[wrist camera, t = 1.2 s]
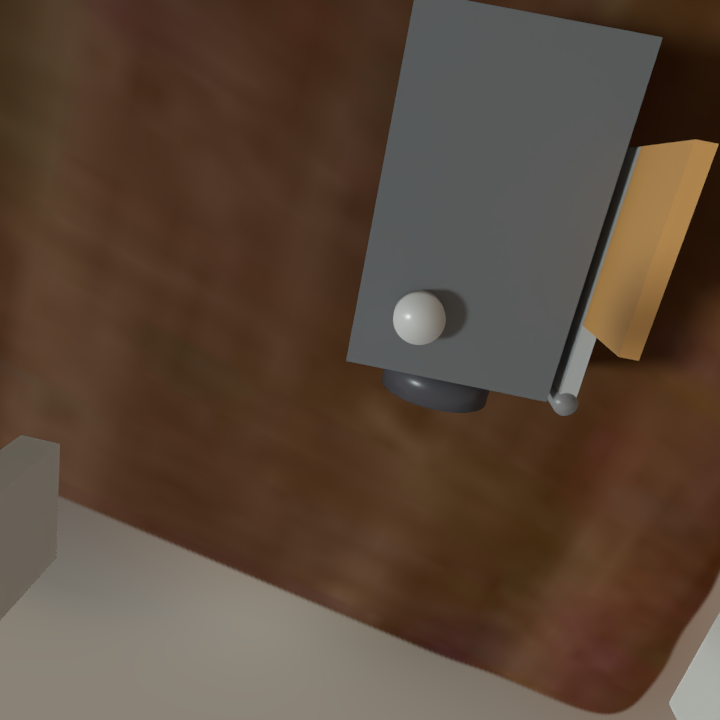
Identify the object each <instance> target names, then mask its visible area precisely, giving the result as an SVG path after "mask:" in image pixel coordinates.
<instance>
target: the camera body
mask: <svg viewBox="0 0 720 720" xmlns="http://www.w3.org/2000/svg"><path fill="white" fill-rule="evenodd" d="M662 38H663V37H658V36H653V35H647V34H642V33H637V32H631V31H626V30H621V29H616V28H610V27H605V26H600V25H594V24H589V23H584V22H578V21H573V20H568V19H563V18H557V17H552V16H547V15H541V14H536V13H531V12H525V11H520V10H515V9H510V8H504V7H499V6H494V5H488V4H483V3H478V2H472V1H467V0H414V3H413V8H412V14H411V19H410V24H409V30H408V35H407V40H406V46H405V51H404V56H403V61H402V67H401V72H400V77H399V83H398V88H397V93H396V99H395V104H394V109H393V115H392V120H391V125H390V131H389V136H388V141H387V147H386V152H385V157H384V162H383V168H382V173H381V178H380V184H379V189H378V194H377V200H376V205H375V210H374V216H373V221H372V226H371V232H370V237H369V242H368V247H367V253H366V258H365V263H364V269H363V274H362V279H361V285H360V290H359V295H358V301H357V306H356V311H355V317H354V322H353V327H352V332H351V338H350V343H349V348H348V354H347V359H346V361H349V362H354V363H359V364H364V365H369V366H374V367H379V368H384V371H383V376H382V382H383V384H384V386H385V387H386V388H387V389H388V390H389V391H390V392H392V393H393V394H395V395H396V396H398V397H400V398H402V399H404V400H406V401H408V402H411V403H413V404H416V405H419V406H422V407H426V408H430V409H434V410H439V411H445V412H455V413H467V412H474V411H478V410H480V409H482V408H483V407H484V406H485V404H486V401H487V397H488V394H489V390H491V391H496V392H501V393H505V394H510V395H515V396H520V397H525V398H530V399H535V400H540V401H544V402H547V398H548V395H549V392H550V389H551V386H552V383H553V380H554V376H555V373H556V370H557V367H558V364H559V361H560V358H561V355H562V351H563V348H564V345H565V342H566V339H567V336H568V333H569V330H570V326H571V323H572V320H573V317H574V314H575V311H576V308H577V304H578V301H579V298H580V295H581V292H582V289H583V286H584V283H585V279H586V276H587V273H588V270H589V267H590V264H591V261H592V258H593V254H594V251H595V248H596V245H597V242H598V239H599V236H600V232H601V229H602V226H603V223H604V220H605V217H606V214H607V211H608V207H609V204H610V201H611V198H612V195H613V192H614V189H615V185H616V182H617V179H618V176H619V173H620V170H621V167H622V164H623V160H624V157H625V154H626V151H627V148H628V145H629V142H630V139H631V135H632V132H633V129H634V126H635V123H636V120H637V117H638V113H639V110H640V107H641V104H642V101H643V98H644V95H645V92H646V88H647V85H648V82H649V79H650V76H651V73H652V70H653V67H654V63H655V60H656V57H657V54H658V51H659V48H660V45H661V41H662Z"/></svg>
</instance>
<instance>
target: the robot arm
mask: <svg viewBox="0 0 720 720" xmlns="http://www.w3.org/2000/svg"><path fill="white" fill-rule="evenodd" d="M59 456H60V444H57V443H53V442H49V441H44V440H40V439H36V438H32V437H27V436H23V435H21V436H19V437H18V438H17V439H15V440H14V441H12V442H11V443H9V444H8V445H7V446H5V447H4V448H2V449H1V450H0V620H1V619H2V618H3V617H4V616H5V614H6V613H7V612H8V611H9V610H10V609H11V608H12V606H14V604H15V603H16V602H17V601H18V600H19V599H20V597H22V595H23V594H24V593H25V592H26V591H27V590H28V589H29V588H30V586H31V585H32V584H33V583H34V582H35V581H36V580H37V579H38V578H39V577H40V575H41V574H42V573H43V572H44V571H45V570H46V568H48V566H49V565H50V564H51V563H52V562H53V561H54V560H55V558H56V547H57V515H58V487H59ZM669 704H670V707H671V709H672V711H673V713H674V715H675V717H676V719H677V720H720V613H719V614H718V616H717V618H716V620H715V621H714V623H713V625H712V627H711V629H710V630H709V632H708V634H707V636H706V637H705V639H704V641H703V643H702V645H701V646H700V648H699V650H698V652H697V653H696V655H695V657H694V659H693V661H692V662H691V664H690V666H689V668H688V669H687V671H686V673H685V675H684V677H683V678H682V680H681V682H680V684H679V686H678V687H677V689H676V691H675V693H674V694H673V696H672V698H671V700H670V701H669Z"/></svg>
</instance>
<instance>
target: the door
mask: <svg viewBox="0 0 720 720" xmlns="http://www.w3.org/2000/svg"><path fill="white" fill-rule="evenodd" d="M718 145H719V144H717V143H712V142H707V141H702V140H696V139H695V140H687V141H679V142H671V143H664V144H656V145H648V146H640V147H633V148H627V151H626V154H625V157H624V160H623V164H622V167H621V170H620V173H619V176H618V179H617V182H616V185H615V189H614V192H613V195H612V198H611V201H610V204H609V207H608V211H607V214H606V217H605V220H604V223H603V226H602V229H601V232H600V236H599V239H598V242H597V245H596V248H595V251H594V254H593V258H592V261H591V264H590V267H589V270H588V273H587V276H586V279H585V283H584V286H583V289H582V292H581V295H580V298H579V301H578V304H577V308H576V311H575V314H574V317H573V320H572V323H571V326H570V330H569V333H568V336H567V339H566V342H565V345H564V348H563V351H562V355H561V358H560V361H559V364H558V367H557V370H556V373H555V376H554V380H553V383H552V386H551V389H550V392H549V395H548V398H547V399H548V401H549V402H550V404H551V406H552V407H553V409H554V411H555V412H556V413H557V414H559V415H563V416H567V415H570V414H572V413H574V412H575V411H576V409H577V407H578V400H577V398H576V397H577V394H578V391H579V388H580V386H581V383H582V380H583V377H584V374H585V371H586V368H587V365H588V362H589V359H590V356H591V353H592V350H593V347H594V344H595V341H596V338H597V339H599V340H600V341H601V342H602V343H603V344H604V345H605V346H607V347H608V348H609V349H610V350H611V351H612V352H613V353H615V354H616V355H617V356H618V357H622V358H627V359H632V360H637V361H639V359H640V357H641V354H642V351H643V348H644V346H645V343H646V340H647V338H648V335H649V332H650V329H651V327H652V324H653V321H654V319H655V316H656V313H657V310H658V308H659V305H660V302H661V300H662V297H663V294H664V291H665V289H666V286H667V283H668V281H669V278H670V275H671V272H672V270H673V267H674V264H675V262H676V259H677V256H678V253H679V251H680V248H681V245H682V243H683V240H684V237H685V234H686V232H687V229H688V226H689V224H690V221H691V218H692V215H693V213H694V210H695V207H696V205H697V202H698V199H699V196H700V194H701V191H702V188H703V186H704V183H705V180H706V177H707V175H708V172H709V169H710V167H711V164H712V161H713V158H714V156H715V153H716V150H717V148H718Z"/></svg>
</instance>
